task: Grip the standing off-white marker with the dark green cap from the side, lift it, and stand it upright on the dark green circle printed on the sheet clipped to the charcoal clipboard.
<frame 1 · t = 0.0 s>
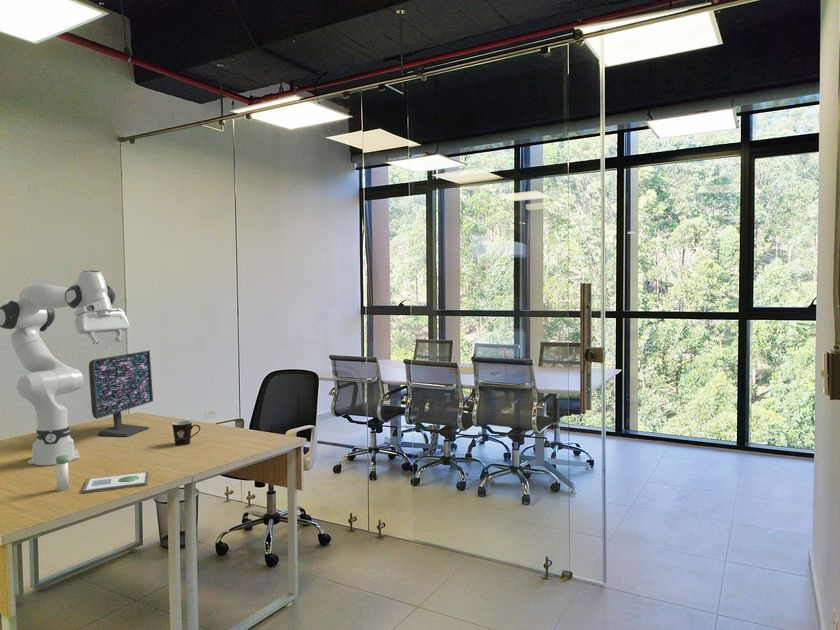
hand: (107, 342, 227), 52 cm above the table, tool tilted 20°, fingers open, 8 cm apart
coffee mug: (185, 444, 271), on the table
computer monitor: (124, 432, 295), on the table
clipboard: (117, 483, 216), on the table
marker: (63, 489, 210), on the table
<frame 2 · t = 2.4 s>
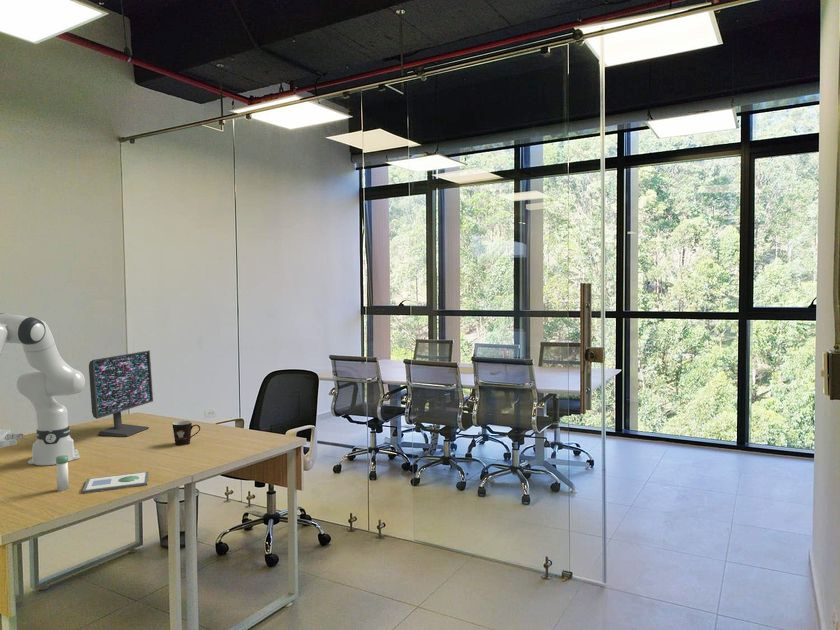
hand: (20, 438, 204), 20 cm above the table, tool horizontal, fingers open, 8 cm apart
nothing on the table moved.
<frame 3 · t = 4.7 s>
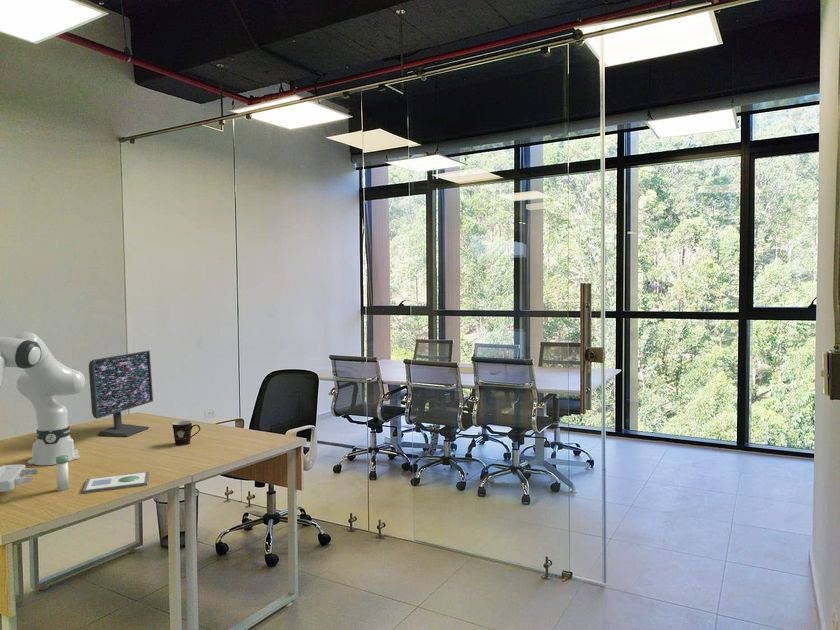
hand: (34, 475, 206), 6 cm above the table, tool horizontal, fingers open, 8 cm apart
nothing on the table moved.
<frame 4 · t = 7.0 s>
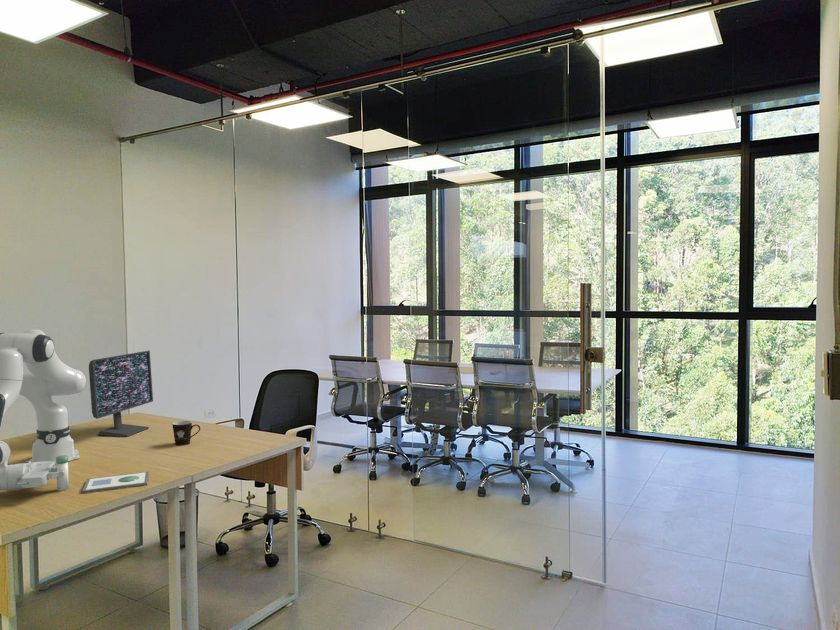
hand: (65, 471, 210), 7 cm above the table, tool horizontal, fingers closed on marker, 4 cm apart
marker: (63, 489, 210), on the table, touching gripper
everything else where it was.
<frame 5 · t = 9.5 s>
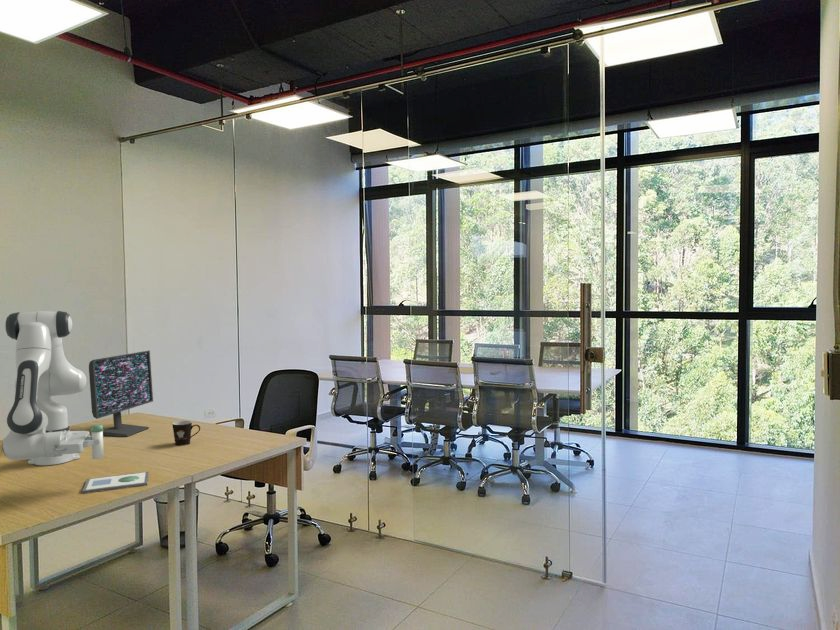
hand: (100, 440, 213), 17 cm above the table, tool horizontal, fingers closed on marker, 4 cm apart
marker: (97, 457, 213), point 10 cm above the table, touching gripper
everything else where it was.
when the fingers open (8 cm above the table, at t = 12.1 s): marker stays where it is, resting on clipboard.
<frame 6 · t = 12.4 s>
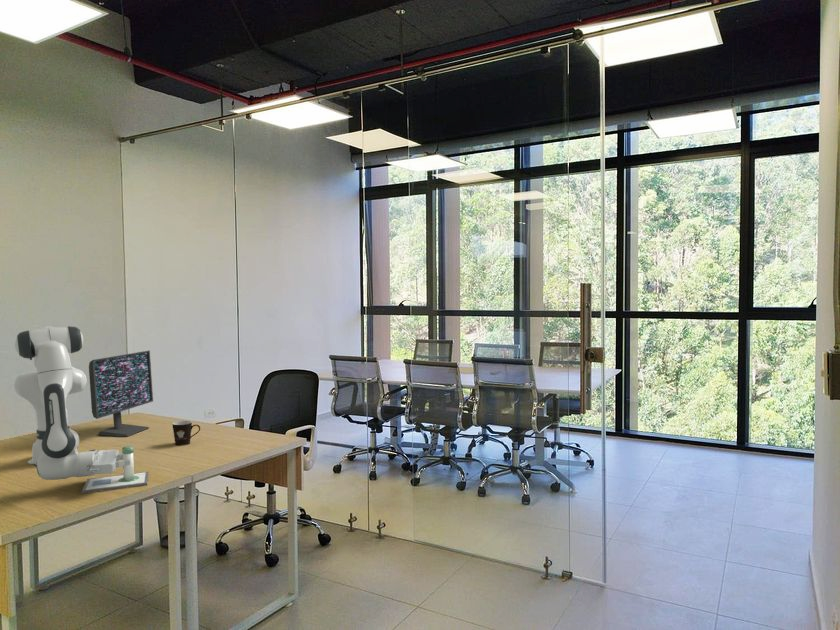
hand: (130, 459, 218), 8 cm above the table, tool horizontal, fingers open, 7 cm apart
marker: (128, 478, 218), point 1 cm above the table, touching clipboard
everything else where it was.
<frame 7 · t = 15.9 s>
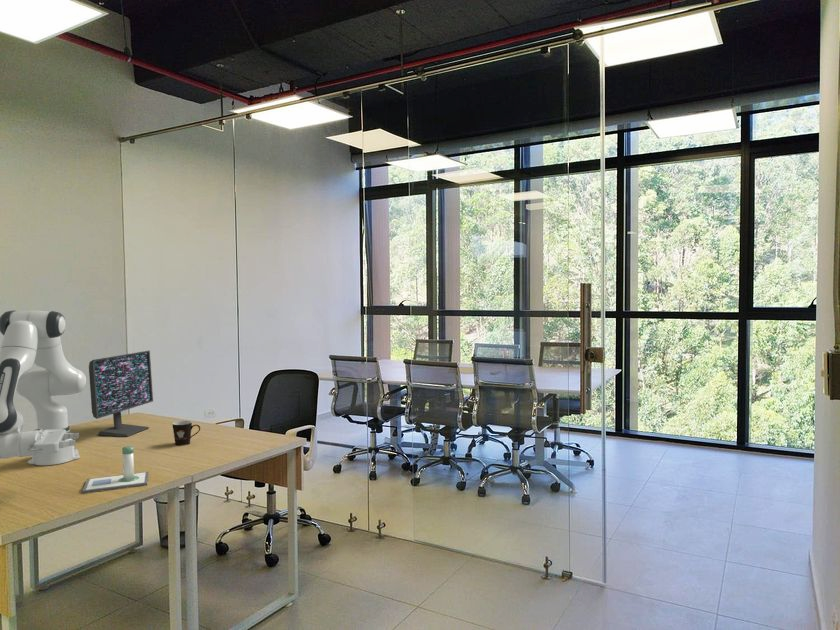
hand: (77, 439, 211), 18 cm above the table, tool horizontal, fingers open, 8 cm apart
nothing on the table moved.
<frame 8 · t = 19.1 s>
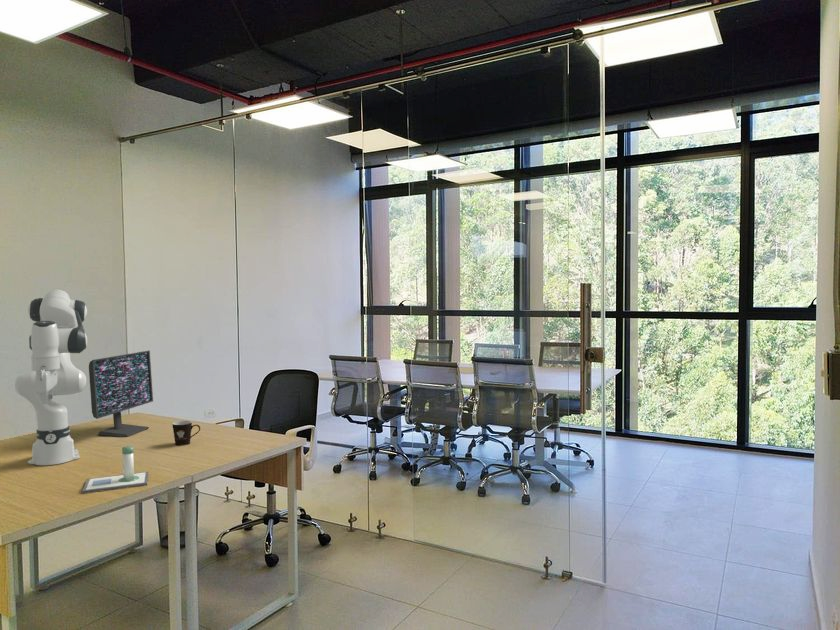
hand: (47, 401, 214), 31 cm above the table, tool pointing down, fingers open, 8 cm apart
nothing on the table moved.
at the end: marker inside the target area on the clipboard (0.0 cm from its centre), point 1.0 cm above the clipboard's base; marker tilted 0°; the gripper is holding nothing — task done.
